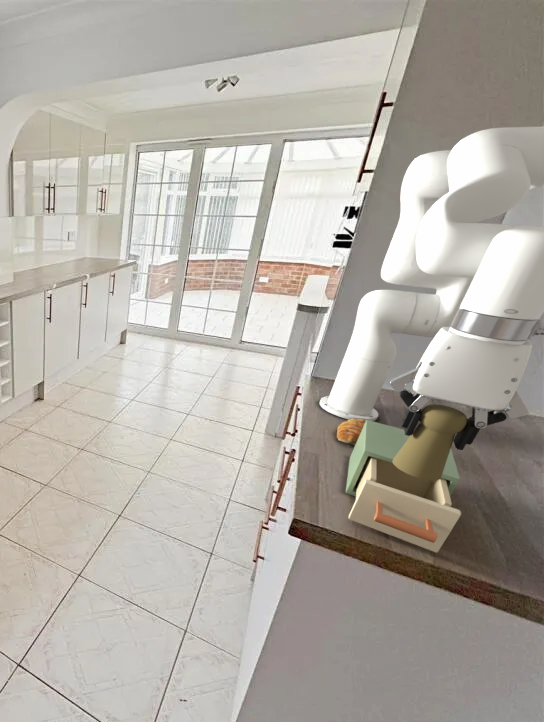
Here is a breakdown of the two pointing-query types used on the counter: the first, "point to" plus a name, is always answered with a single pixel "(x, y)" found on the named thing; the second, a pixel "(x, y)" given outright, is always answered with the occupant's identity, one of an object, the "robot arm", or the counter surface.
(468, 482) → the counter surface
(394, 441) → the cabinet
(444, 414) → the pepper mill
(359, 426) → the pastry
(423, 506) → the drawer
